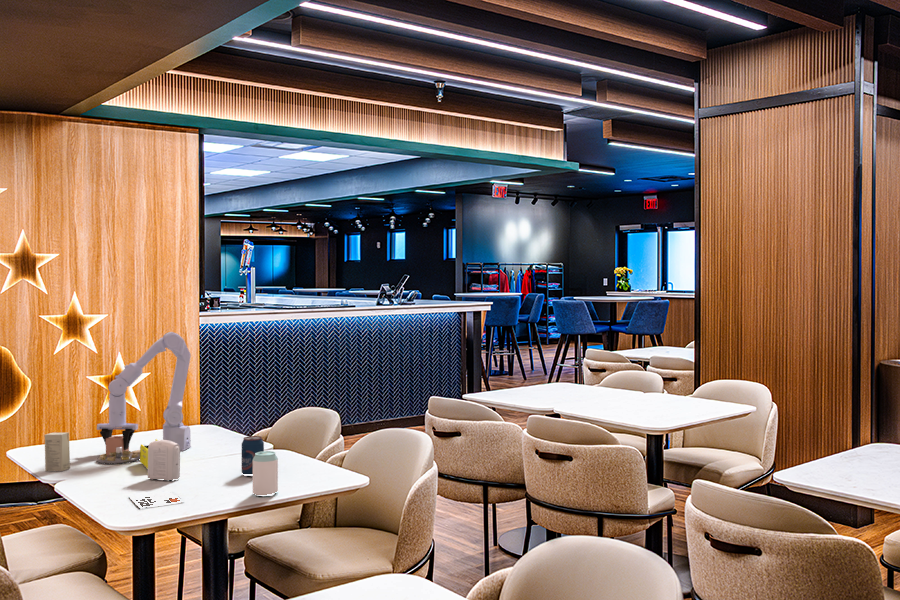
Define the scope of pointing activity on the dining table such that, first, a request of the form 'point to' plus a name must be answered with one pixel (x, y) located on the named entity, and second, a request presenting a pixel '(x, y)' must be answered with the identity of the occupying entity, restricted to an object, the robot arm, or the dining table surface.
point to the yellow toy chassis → (144, 455)
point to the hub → (118, 457)
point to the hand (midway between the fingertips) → (117, 449)
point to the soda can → (250, 452)
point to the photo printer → (163, 460)
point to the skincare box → (57, 452)
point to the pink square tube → (114, 444)
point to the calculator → (155, 501)
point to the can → (265, 473)
